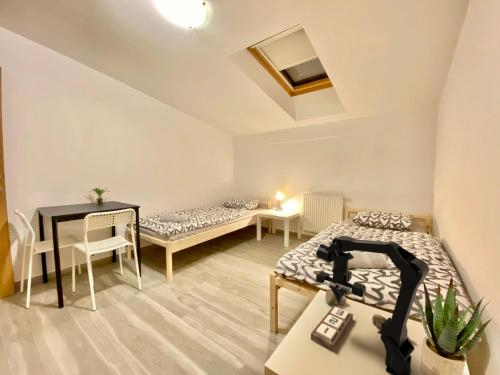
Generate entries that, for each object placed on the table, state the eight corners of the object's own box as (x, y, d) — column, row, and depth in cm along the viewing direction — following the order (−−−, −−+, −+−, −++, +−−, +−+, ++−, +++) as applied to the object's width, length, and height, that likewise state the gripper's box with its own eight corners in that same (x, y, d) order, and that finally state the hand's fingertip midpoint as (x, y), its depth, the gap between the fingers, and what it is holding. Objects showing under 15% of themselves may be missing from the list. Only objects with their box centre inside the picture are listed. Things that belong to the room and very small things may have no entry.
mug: (350, 308, 108) (342, 293, 105) (331, 313, 110) (323, 299, 108) (345, 296, 115) (338, 282, 112) (327, 301, 117) (320, 287, 115)
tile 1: (336, 333, 87) (336, 329, 87) (330, 342, 83) (330, 338, 83) (322, 326, 91) (322, 322, 91) (315, 334, 87) (316, 330, 87)
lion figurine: (375, 341, 86) (376, 319, 86) (368, 331, 92) (369, 310, 91) (411, 341, 87) (413, 319, 86) (402, 331, 92) (403, 311, 91)
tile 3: (348, 315, 99) (348, 311, 99) (344, 322, 94) (344, 318, 94) (335, 309, 103) (335, 306, 103) (330, 315, 98) (330, 312, 98)
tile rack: (352, 319, 99) (353, 314, 99) (333, 351, 81) (333, 345, 81) (333, 310, 105) (333, 306, 105) (310, 339, 87) (310, 333, 87)
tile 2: (342, 323, 93) (343, 320, 93) (337, 331, 89) (338, 327, 88) (329, 317, 97) (329, 314, 97) (323, 324, 93) (323, 320, 92)
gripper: (370, 267, 90) (368, 303, 91) (326, 255, 102) (325, 287, 103) (363, 276, 81) (361, 316, 82) (315, 262, 93) (314, 297, 95)
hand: (339, 302), depth 91 cm, fingers closed
